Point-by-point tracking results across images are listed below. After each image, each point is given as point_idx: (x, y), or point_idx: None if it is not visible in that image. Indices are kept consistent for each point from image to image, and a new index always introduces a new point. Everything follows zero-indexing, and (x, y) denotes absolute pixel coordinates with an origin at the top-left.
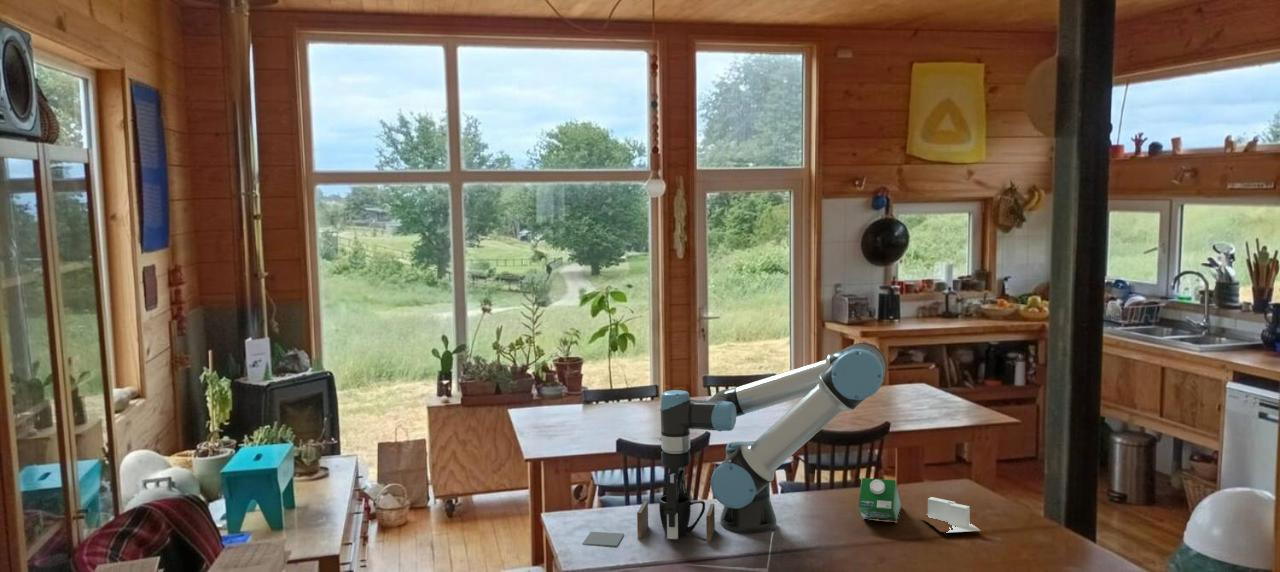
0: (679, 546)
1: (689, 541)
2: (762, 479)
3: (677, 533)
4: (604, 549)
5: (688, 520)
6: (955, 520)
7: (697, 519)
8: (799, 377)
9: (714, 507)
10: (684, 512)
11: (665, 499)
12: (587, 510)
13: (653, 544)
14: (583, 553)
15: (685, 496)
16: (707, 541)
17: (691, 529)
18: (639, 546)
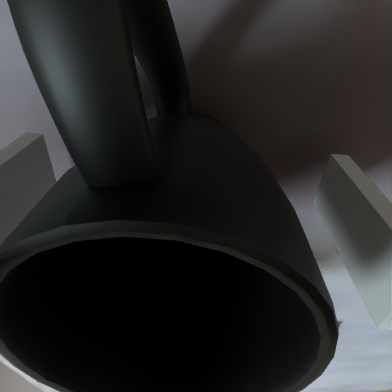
0: (375, 131)
1: (302, 80)
2: None
3: (362, 172)
4: (341, 343)
5: (210, 125)
6: None
7: (168, 44)
8: None
9: None
10: (282, 198)
11: (96, 362)
12: (31, 377)
13: (320, 237)
14: (361, 371)
15: (7, 275)
16: None
17: (187, 83)
18: (334, 275)
